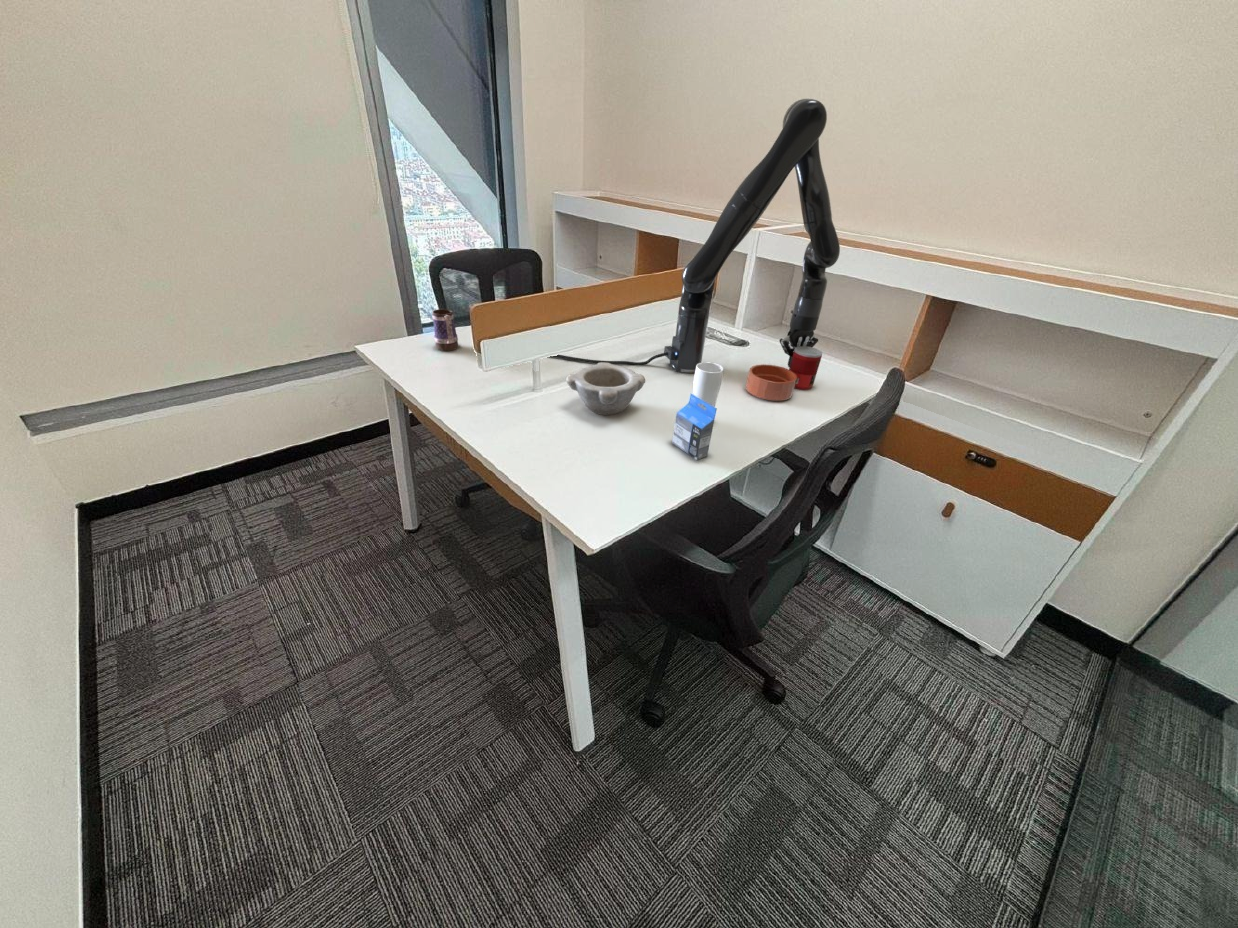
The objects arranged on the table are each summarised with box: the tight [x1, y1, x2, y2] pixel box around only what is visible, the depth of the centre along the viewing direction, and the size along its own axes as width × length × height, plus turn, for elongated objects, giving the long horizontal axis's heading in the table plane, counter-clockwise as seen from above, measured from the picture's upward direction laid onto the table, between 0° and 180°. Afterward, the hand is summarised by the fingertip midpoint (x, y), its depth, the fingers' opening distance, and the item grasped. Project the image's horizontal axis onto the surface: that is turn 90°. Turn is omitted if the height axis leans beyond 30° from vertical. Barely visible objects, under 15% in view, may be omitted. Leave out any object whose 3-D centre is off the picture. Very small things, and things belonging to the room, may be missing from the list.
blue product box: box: [671, 393, 718, 461], centre depth 113 cm, size 9×4×12 cm, turn 35°
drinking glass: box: [692, 361, 724, 410], centre depth 124 cm, size 7×7×15 cm
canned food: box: [788, 346, 823, 391], centre depth 150 cm, size 8×8×11 cm
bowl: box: [745, 363, 797, 402], centre depth 145 cm, size 13×13×6 cm
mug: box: [431, 308, 459, 352], centre depth 156 cm, size 10×7×12 cm
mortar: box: [565, 362, 646, 416], centre depth 130 cm, size 17×17×9 cm
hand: (791, 367), depth 155 cm, fingers closed
